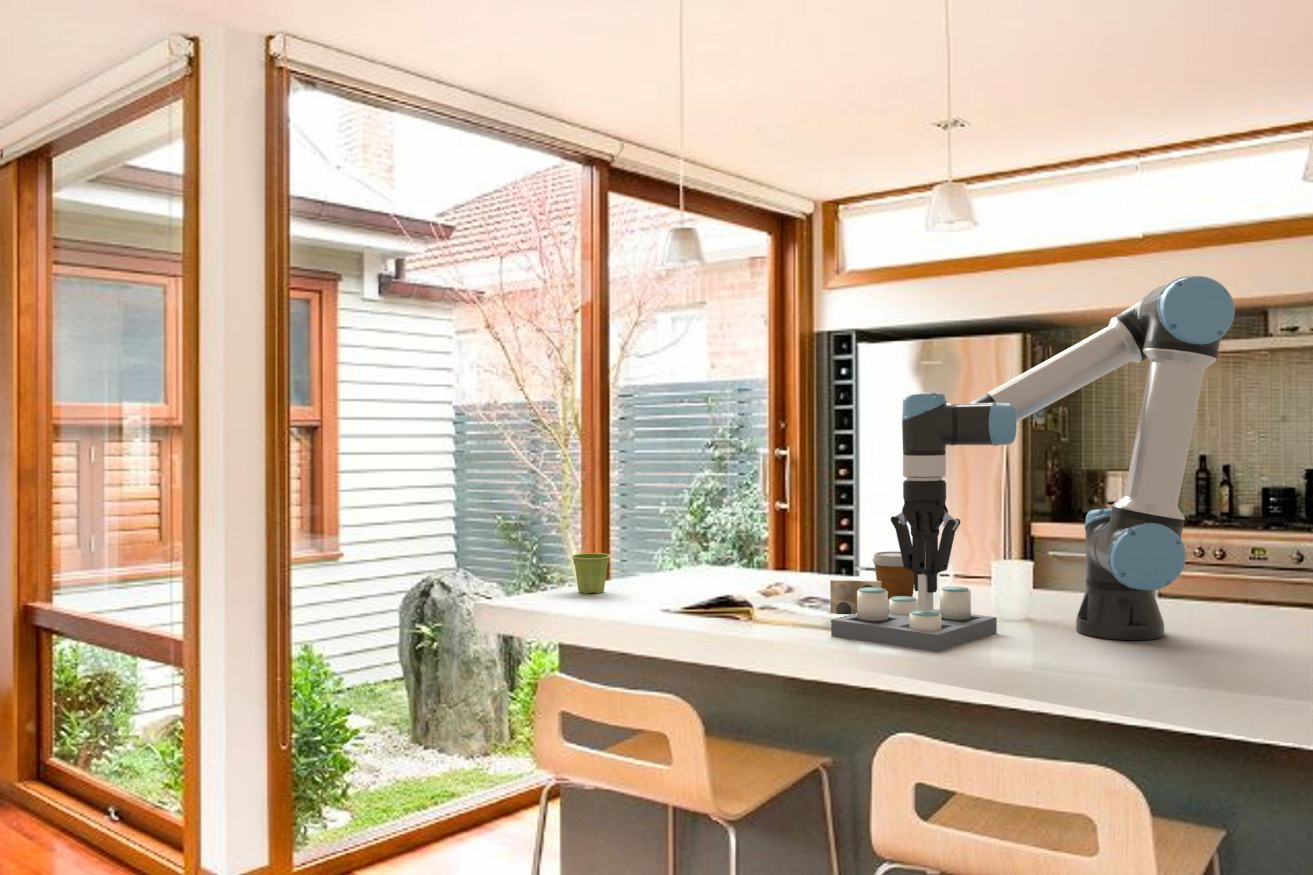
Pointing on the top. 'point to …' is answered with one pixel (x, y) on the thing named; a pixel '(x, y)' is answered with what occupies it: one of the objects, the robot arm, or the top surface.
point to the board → (914, 631)
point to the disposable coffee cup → (893, 574)
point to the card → (847, 594)
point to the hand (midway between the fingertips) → (925, 610)
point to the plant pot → (591, 571)
